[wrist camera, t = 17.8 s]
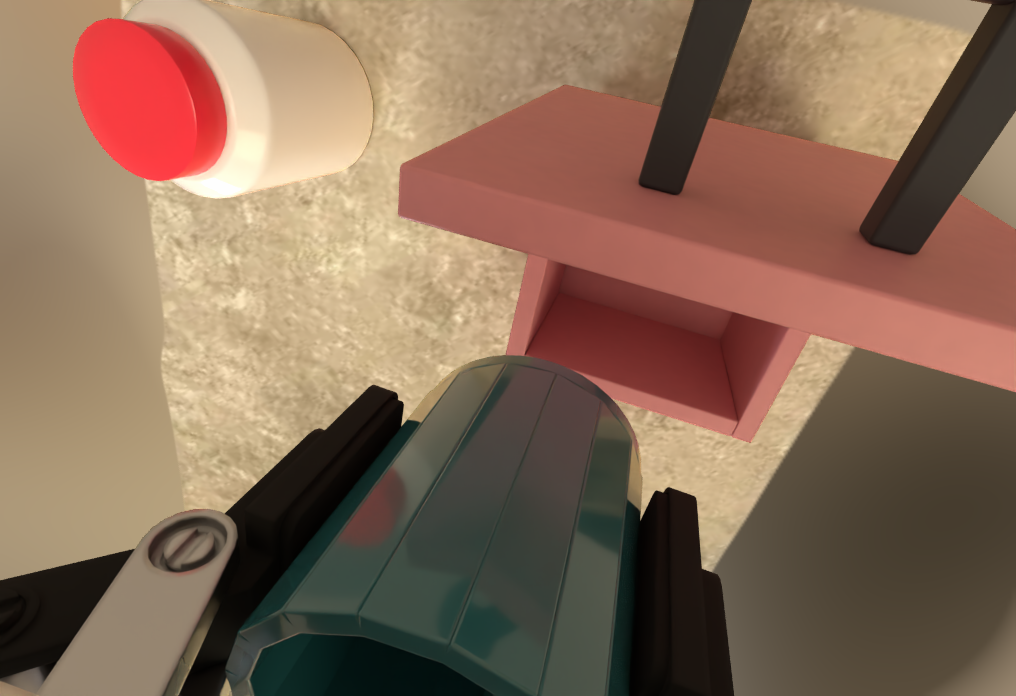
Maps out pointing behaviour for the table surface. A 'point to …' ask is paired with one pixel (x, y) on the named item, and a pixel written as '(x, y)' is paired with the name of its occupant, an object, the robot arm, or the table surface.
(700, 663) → the robot arm
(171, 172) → the pill bottle
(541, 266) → the pink box
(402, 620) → the cup
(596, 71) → the table surface
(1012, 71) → the lid
